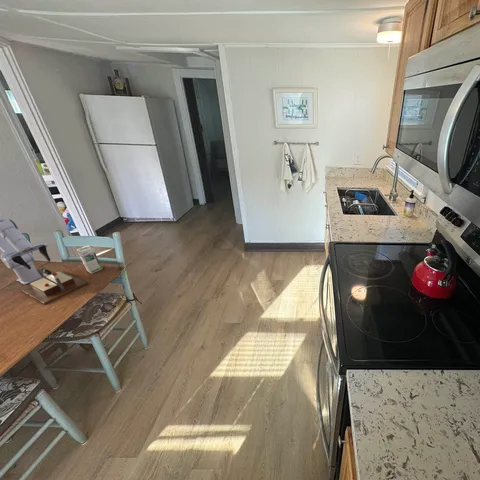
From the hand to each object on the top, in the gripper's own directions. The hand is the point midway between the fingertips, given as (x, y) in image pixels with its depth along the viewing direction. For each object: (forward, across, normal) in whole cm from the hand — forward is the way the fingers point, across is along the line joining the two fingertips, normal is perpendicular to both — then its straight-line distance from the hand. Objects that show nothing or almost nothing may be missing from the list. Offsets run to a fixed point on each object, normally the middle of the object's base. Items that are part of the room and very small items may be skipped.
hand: (40, 264), depth 130 cm
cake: (+10, 0, +9) cm, 14 cm away
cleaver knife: (+7, 0, +7) cm, 10 cm away
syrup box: (+12, +18, +9) cm, 24 cm away
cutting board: (+11, 0, +10) cm, 15 cm away
